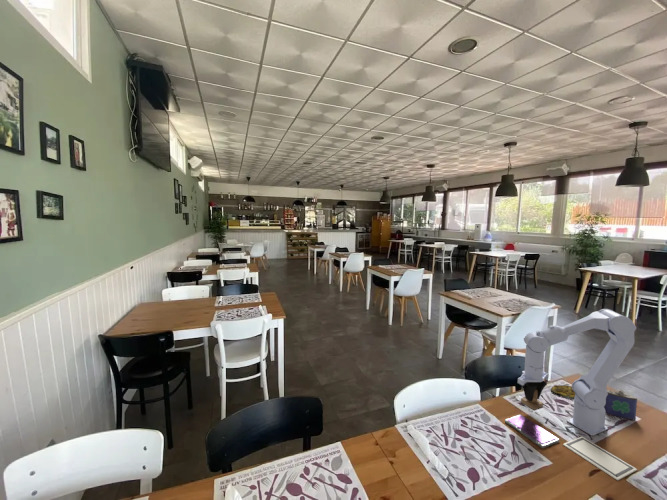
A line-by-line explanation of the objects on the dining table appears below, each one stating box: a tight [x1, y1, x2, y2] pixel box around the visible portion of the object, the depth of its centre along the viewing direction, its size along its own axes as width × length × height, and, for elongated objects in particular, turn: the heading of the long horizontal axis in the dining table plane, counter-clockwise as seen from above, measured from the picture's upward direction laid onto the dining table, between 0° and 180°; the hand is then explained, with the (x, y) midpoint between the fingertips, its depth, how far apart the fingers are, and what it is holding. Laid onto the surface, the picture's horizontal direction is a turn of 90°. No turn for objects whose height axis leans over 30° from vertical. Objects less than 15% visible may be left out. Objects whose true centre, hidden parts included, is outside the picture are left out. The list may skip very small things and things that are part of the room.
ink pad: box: [504, 414, 560, 449], centre depth 98 cm, size 8×13×1 cm, turn 20°
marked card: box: [562, 436, 638, 481], centre depth 87 cm, size 10×14×1 cm
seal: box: [550, 384, 575, 400], centre depth 122 cm, size 9×5×15 cm
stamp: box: [520, 389, 544, 411], centre depth 107 cm, size 5×5×6 cm
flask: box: [604, 389, 638, 422], centre depth 106 cm, size 9×3×11 cm, turn 61°
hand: (532, 398), depth 107 cm, fingers closed on stamp, 3 cm apart
